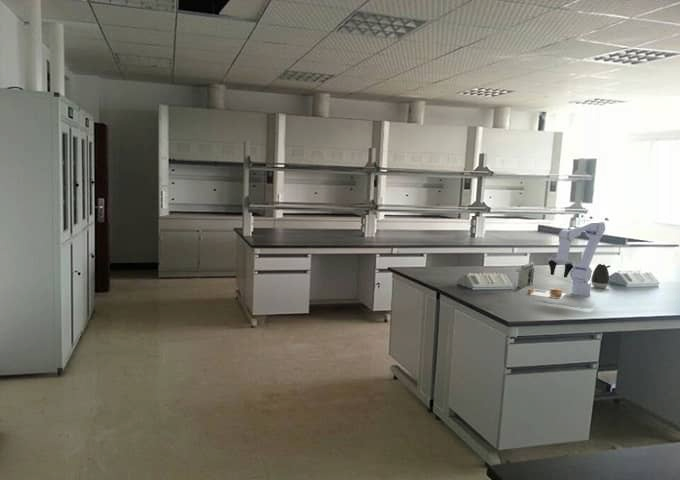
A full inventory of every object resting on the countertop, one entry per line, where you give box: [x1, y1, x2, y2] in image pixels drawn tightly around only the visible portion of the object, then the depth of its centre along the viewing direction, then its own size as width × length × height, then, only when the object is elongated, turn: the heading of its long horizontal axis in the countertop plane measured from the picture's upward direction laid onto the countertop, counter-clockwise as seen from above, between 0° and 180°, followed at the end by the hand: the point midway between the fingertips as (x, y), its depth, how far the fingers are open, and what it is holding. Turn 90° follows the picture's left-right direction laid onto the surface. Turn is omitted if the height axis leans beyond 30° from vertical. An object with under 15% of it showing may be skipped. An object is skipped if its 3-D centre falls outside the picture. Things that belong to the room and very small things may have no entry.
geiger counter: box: [515, 261, 535, 289], centre depth 328 cm, size 14×6×25 cm
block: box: [549, 287, 563, 299], centre depth 292 cm, size 5×5×4 cm
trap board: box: [526, 287, 567, 300], centre depth 298 cm, size 18×18×4 cm
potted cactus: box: [590, 263, 611, 290], centre depth 329 cm, size 10×10×15 cm
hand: (558, 276), depth 288 cm, fingers open, 7 cm apart
